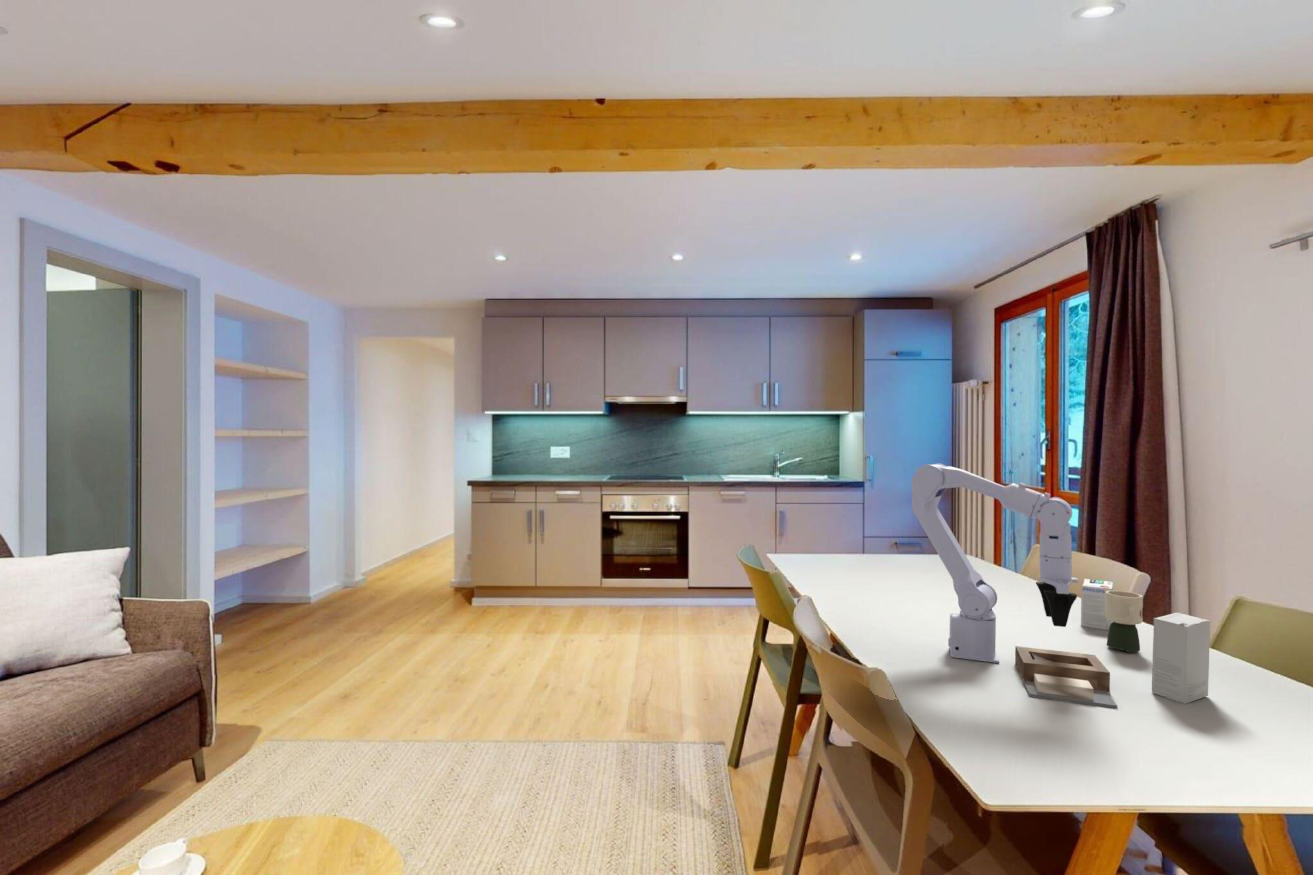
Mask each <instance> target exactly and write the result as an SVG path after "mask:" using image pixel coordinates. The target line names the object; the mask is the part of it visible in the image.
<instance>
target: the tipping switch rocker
mask: <svg viewBox="0 0 1313 875" xmlns="http://www.w3.org/2000/svg"><path fill="white" fill-rule="evenodd" d="M1031 656H1032V657H1033V659H1034V660H1041V661H1050V662H1055V661H1052V660H1049V659H1046V658H1043V657H1041V656H1038V655H1035V654H1032V655H1031Z"/></svg>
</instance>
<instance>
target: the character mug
mask: <svg viewBox="0 0 1313 875" xmlns="http://www.w3.org/2000/svg"><path fill="white" fill-rule="evenodd" d="M1143 609H1144V597H1143V595H1142V594H1139V593H1135V592H1132V591H1124V590H1113V591H1106V593H1105V617H1106V619H1107V620H1110V621H1112V623H1111V624H1110V627H1109V630H1108V633H1107V639H1106V646H1107V647H1109V648H1111V649H1116V650H1117V649H1118V650H1121V651H1123V652H1124V653H1127V651H1128V652H1129V651H1130V652H1134V653H1136V652H1140V651H1141V644H1140V638H1139V631H1138V628H1137V626H1136V625H1140V624H1142V623H1143V621H1144V618H1143V617H1144V616H1143Z"/></svg>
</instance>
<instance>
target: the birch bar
mask: <svg viewBox="0 0 1313 875" xmlns="http://www.w3.org/2000/svg"><path fill="white" fill-rule="evenodd" d="M1034 685H1035V687H1036V689H1037V692H1041V693H1049V694H1056V695H1063V696H1070V697H1077V698H1084V699H1091V700H1093V698H1094V689H1093V687H1092V686H1091V684H1090V683H1089V681H1087V680H1079V679H1072V678H1064V677H1056V676H1049V675H1041V674H1034Z"/></svg>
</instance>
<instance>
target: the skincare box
mask: <svg viewBox="0 0 1313 875" xmlns="http://www.w3.org/2000/svg"><path fill="white" fill-rule="evenodd" d="M1210 635H1211V621H1210V620H1208V619H1204V618H1201V617H1198V616H1197V617H1196V616H1193V615H1189V614H1186V613H1185V614H1184V613H1181V612H1172V613H1170V614H1166V615H1162V616H1158V617H1153V639H1152V640H1153V641H1152V668H1151V670H1152V671H1151V693H1152V694H1155V695H1158V696H1161V697H1163V698H1166V699H1170V700H1173V701H1175V702H1178V703H1181V704H1184V705H1186V704H1189V703H1191V702H1194V701H1197V700H1199V699H1203V698H1205V697H1208V696H1209V678H1210V677H1209V676H1210V675H1209V673H1210V671H1209V668H1210V637H1211V636H1210Z"/></svg>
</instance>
